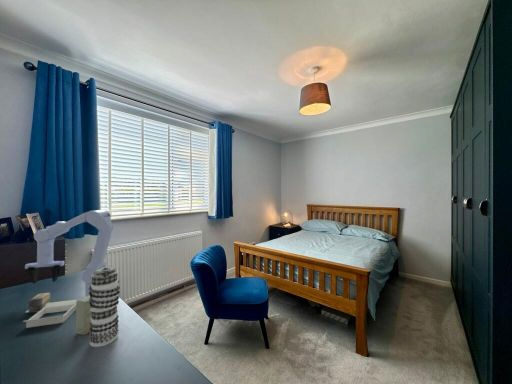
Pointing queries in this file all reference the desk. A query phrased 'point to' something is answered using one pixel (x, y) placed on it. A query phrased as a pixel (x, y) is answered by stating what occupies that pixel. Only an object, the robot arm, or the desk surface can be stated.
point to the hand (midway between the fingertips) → (45, 281)
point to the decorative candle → (104, 306)
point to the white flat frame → (50, 308)
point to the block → (39, 302)
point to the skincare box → (83, 315)
